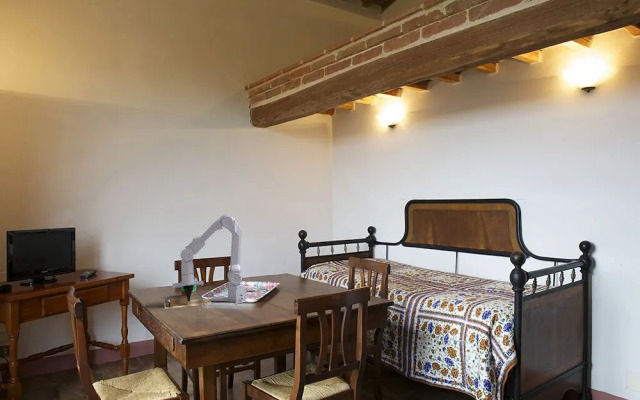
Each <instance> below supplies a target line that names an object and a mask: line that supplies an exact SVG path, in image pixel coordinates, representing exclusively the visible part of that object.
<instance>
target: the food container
mask: <svg viewBox="0 0 640 400" xmlns="http://www.w3.org/2000/svg"><path fill="white" fill-rule="evenodd" d="M194 281H198V278H197V277H196V276H194ZM180 282H182V280H180ZM180 282H179V283H180ZM184 286H185V285H184ZM193 287H194V288H193V291H192V293H191V297H192V296H195V295H197V286H193ZM180 292H181V293H180V294H181V297H183V296H186V297H187V295H186V293H185V290H184V289H183V287H180Z"/></svg>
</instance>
